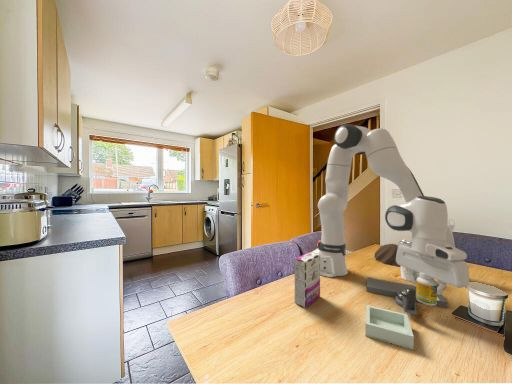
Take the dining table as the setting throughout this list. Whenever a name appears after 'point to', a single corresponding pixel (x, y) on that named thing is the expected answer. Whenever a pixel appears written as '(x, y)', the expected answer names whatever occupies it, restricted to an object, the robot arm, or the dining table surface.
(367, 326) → the tray
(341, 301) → the dining table surface
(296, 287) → the candy bar box
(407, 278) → the white cup
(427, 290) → the supplement bottle
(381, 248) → the decorative dome
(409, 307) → the crank
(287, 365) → the dining table surface
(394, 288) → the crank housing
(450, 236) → the skyscraper
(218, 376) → the dining table surface
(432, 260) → the robot arm
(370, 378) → the dining table surface
